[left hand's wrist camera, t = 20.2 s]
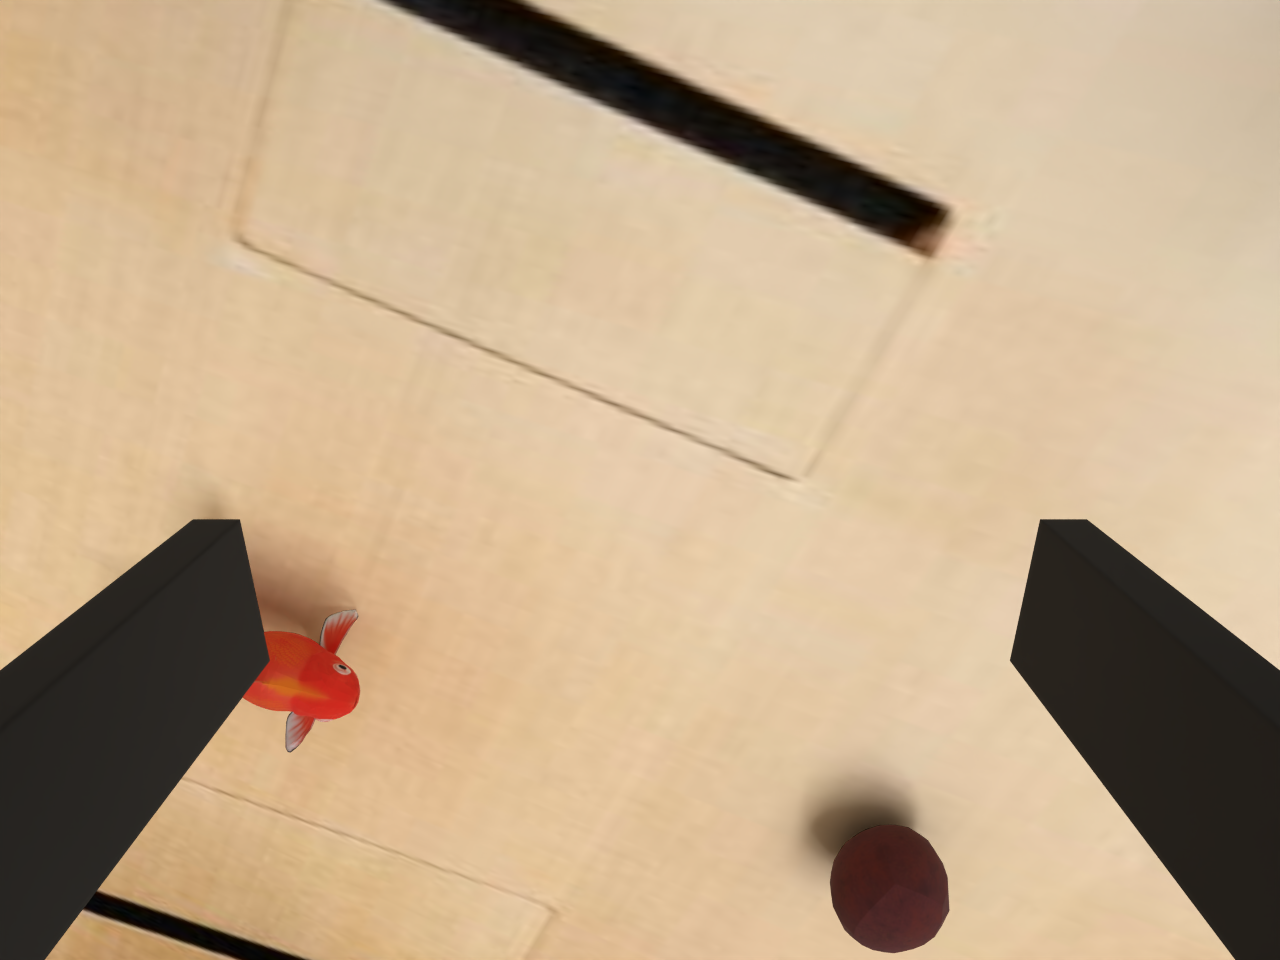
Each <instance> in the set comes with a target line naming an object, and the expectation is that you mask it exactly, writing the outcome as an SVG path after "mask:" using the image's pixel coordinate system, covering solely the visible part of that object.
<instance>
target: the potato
mask: <svg viewBox="0 0 1280 960" xmlns="http://www.w3.org/2000/svg"><path fill="white" fill-rule="evenodd" d="M830 887H831V896H832V903H833V907H834V909H835V912H836V914H837V916H838V918H839V920H840V922H841V924H842V926H843V928H844V929H845V931H846V932H847V933H848V934H849V935H850V936H851V937H853V938H854V939H855V940H856V941H858V942H859V943H860V944H861V945H863V946H865V947H868V948H870V949H872V950H876V951H881V952H888V953H897V952H903V951H907V950H911V949H914V948H917V947H919V946H922V945H924V944H926V943H927V942H928V941H930V940H931V939H932V938H934V937H935V935H936V934H937V932H938V931H939V929H940V928H941V926H942V924H943V922H944V920H945V918H946V916H947V914H948V912H949V896H948V878H947V874H946V871H945V868H944V866H943V863H942V861H941V860H940V858H939V857H938V855H937V853H936V852H935V850H934V849H933V847H932V846H931V844H930V843H929V841H928V840H927V839H925V838H924V837H923V836H921V835H920V834H918V833H917V832H915V831H913V830H912V829H910V828H909V827H903V826H898V825H878V826H875V827H872V828H869V829H866V830H864V831H862V832H860V833H859V834H857V835H856V836H854V837H853V838H851V839H850V840H848V841H847V842H846V843H845V844H844V845H843V847H842V848H841V850H840V851H839V853H838V855H837V857H836V858H835V860H834V863H833V867H832V871H831V879H830Z"/></svg>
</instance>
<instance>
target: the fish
mask: <svg viewBox="0 0 1280 960" xmlns="http://www.w3.org/2000/svg"><path fill="white" fill-rule="evenodd" d="M357 618H358V614H357V612H356V610H346V611H341V612H338V613H335V614H333V615H330V616H329V617H327V618H326V619H325V622H324V625H323V628H322V631H321V636H320V645H319V644H318V643H316V642H315V641H313V640H311V639H309V638H307V637H305V636H302V635H299V634H296V633H289V632H281V631H269V632H264V635H265V639H266V644H267V649H268V653H269V658H270V661H269V663H268V664H267V665H266V667H265V668H264V669H263V671H262V672H261V673H260V675H259V676H258V677H257V679H256V680H255V681H254V683H253V684H252V685H251V687H250V688H249V689H248V691H247V692H246V693H245V695H244V696H243V698H244V699H246V700H247V701H249V702H251V703H252V704H255V705H257V706H260V707H262V708H265V709H269V710H274V711H292V712H291V713H290V714H289V716H288V718H287V722H286V749H287V751H288V752H292V751H293V750H294V749H296V748H297V747H298V746H299V745H300V743H301V742H302V741H303V739H304V738H305V736H306V735H307V733H308V732H309V731H310V730H311V728H312V726H313V724H314V721H315V719H316V720H318V721H322V722H328V721H331V720H334V719H337V718H340V717H342V716H344V715H346V714H349V713H350V712H351V711H352V710H353V709H354V708H355V707H356V705H357V703H358V701H359V695H360V686H359V681H358V678H357V675H356V674H355V672H354V671H353V670H352V669H351V668H350V667H349V666H348V665H346V664H345V663H344V662H343V661H342V660H341V659H340V658H339V657H338V656H336V655H335V654H336V652H337V650H338V648H339V646H340V644H341V642H342V641H343V639H344V637H345V636H346V634H347V633H348V631H349V629H350V627H351V626H352V624H353V623H354V622H355V620H357Z"/></svg>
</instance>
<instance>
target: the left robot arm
mask: <svg viewBox="0 0 1280 960" xmlns="http://www.w3.org/2000/svg"><path fill="white" fill-rule="evenodd" d="M269 661H270V658H269V653H268V649H267V644H266V639H265V635H264V630H263V625H262V621H261V616H260V611H259V607H258V602H257V597H256V593H255V588H254V583H253V579H252V574H251V569H250V565H249V560H248V555H247V551H246V546H245V541H244V537H243V532H242V527H241V523H240V519H193V520H192V521H191V522H189V523H188V524H187V525H185V526H184V527H183V528H182V529H180V530H179V531H178V532H176V533H175V534H174V535H173V536H171V537H170V538H169V539H168V540H166V541H165V542H164V543H162V544H161V545H160V546H159V547H157V548H156V549H155V550H153V551H152V552H151V553H150V554H148V555H147V556H146V557H145V558H143V559H142V560H141V561H139V562H138V563H137V564H136V565H134V566H133V567H132V568H130V569H129V570H128V571H127V572H125V573H124V574H123V575H122V576H120V577H119V578H118V579H116V580H115V581H114V582H113V583H111V584H110V585H109V586H107V587H106V588H105V589H104V590H102V591H101V592H100V593H99V594H97V595H96V596H95V597H93V598H92V599H91V600H90V601H88V602H87V603H86V604H84V605H83V606H82V607H81V608H79V609H78V610H77V611H76V612H74V613H73V614H72V615H70V616H69V617H68V618H67V619H65V620H64V621H63V622H61V623H60V624H59V625H58V626H56V627H55V628H54V629H53V630H51V631H50V632H49V633H47V634H46V635H45V636H44V637H42V638H41V639H40V640H39V641H37V642H36V643H35V644H33V645H32V646H31V647H30V648H28V649H27V650H26V651H24V652H23V653H22V654H21V655H19V656H18V657H17V658H16V659H14V660H13V661H12V662H10V663H9V664H8V665H7V666H5V667H4V668H3V669H1V670H0V960H45V959H46V957H47V956H48V955H49V953H50V952H51V951H52V949H53V948H54V947H55V945H56V944H57V943H58V941H59V940H60V939H61V937H62V936H63V935H64V933H65V932H66V931H67V929H68V928H69V927H70V925H71V924H72V923H73V921H74V920H75V919H76V917H77V916H78V915H79V914H80V912H81V911H82V910H83V908H84V907H85V906H86V904H87V903H88V902H89V900H90V899H91V898H92V896H93V895H94V894H95V892H96V891H97V890H98V888H99V887H100V886H101V884H102V883H103V882H104V880H105V879H106V878H107V876H108V875H109V874H110V872H111V871H112V870H113V868H114V867H115V866H116V864H117V863H118V862H119V860H120V859H121V858H122V856H123V855H124V854H125V852H126V851H127V850H128V848H129V847H130V846H131V844H132V843H133V842H134V841H135V839H136V838H137V837H138V835H139V834H140V833H141V831H142V830H143V829H144V827H145V826H146V825H147V823H148V822H149V821H150V819H151V818H152V817H153V815H154V814H155V813H156V811H157V810H158V809H159V807H160V806H161V805H162V803H163V802H164V801H165V799H166V798H167V797H168V795H169V794H170V793H171V791H172V790H173V789H174V787H175V786H176V785H177V783H178V782H179V781H180V779H181V778H182V777H183V775H184V774H185V773H186V772H187V770H188V769H189V768H190V766H191V765H192V764H193V762H194V761H195V760H196V758H197V757H198V756H199V754H200V753H201V752H202V750H203V749H204V748H205V746H206V745H207V744H208V742H209V741H210V740H211V738H212V737H213V736H214V734H215V733H216V732H217V730H218V729H219V728H220V726H221V725H222V724H223V722H224V721H225V720H226V718H227V717H228V716H229V714H230V713H231V712H232V710H233V709H234V708H235V706H236V705H237V704H238V702H239V701H240V700H241V699H242V697H243V696H244V695H245V693H246V692H247V691H248V689H249V688H250V687H251V685H252V684H253V683H254V681H255V680H256V679H257V677H258V676H259V675H260V673H261V672H262V671H263V669H264V668H265V667H266V665H267V664H268V663H269ZM1010 661H1011V663H1012V664H1013V665H1014V667H1015V668H1016V669H1017V671H1018V672H1019V673H1020V675H1021V676H1022V677H1023V679H1024V680H1025V681H1026V683H1027V684H1028V685H1029V687H1030V688H1031V689H1032V691H1033V692H1034V693H1035V695H1036V696H1037V697H1038V699H1039V700H1040V701H1041V703H1042V704H1043V705H1044V706H1045V708H1046V709H1047V710H1048V712H1049V713H1050V714H1051V716H1052V717H1053V718H1054V720H1055V721H1056V722H1057V724H1058V725H1059V726H1060V728H1061V729H1062V730H1063V732H1064V733H1065V734H1066V736H1067V737H1068V738H1069V740H1070V741H1071V742H1072V744H1073V745H1074V746H1075V748H1076V749H1077V750H1078V752H1079V753H1080V754H1081V756H1082V757H1083V758H1084V760H1085V761H1086V762H1087V764H1088V765H1089V766H1090V768H1091V769H1092V770H1093V772H1094V773H1095V774H1096V775H1097V777H1098V778H1099V779H1100V781H1101V782H1102V783H1103V785H1104V786H1105V787H1106V789H1107V790H1108V791H1109V793H1110V794H1111V795H1112V797H1113V798H1114V799H1115V801H1116V802H1117V803H1118V805H1119V806H1120V807H1121V809H1122V810H1123V811H1124V813H1125V814H1126V815H1127V817H1128V818H1129V819H1130V821H1131V822H1132V823H1133V825H1134V826H1135V827H1136V829H1137V830H1138V831H1139V833H1140V834H1141V835H1142V837H1143V838H1144V839H1145V841H1146V842H1147V843H1148V844H1149V846H1150V847H1151V848H1152V850H1153V851H1154V852H1155V854H1156V855H1157V856H1158V858H1159V859H1160V860H1161V862H1162V863H1163V864H1164V866H1165V867H1166V868H1167V870H1168V871H1169V872H1170V874H1171V875H1172V876H1173V878H1174V879H1175V880H1176V882H1177V883H1178V884H1179V886H1180V887H1181V888H1182V890H1183V891H1184V892H1185V894H1186V895H1187V896H1188V898H1189V899H1190V900H1191V902H1192V903H1193V904H1194V906H1195V907H1196V908H1197V910H1198V911H1199V912H1200V914H1201V915H1202V916H1203V917H1204V919H1205V920H1206V921H1207V923H1208V924H1209V925H1210V927H1211V928H1212V929H1213V931H1214V932H1215V933H1216V935H1217V936H1218V937H1219V939H1220V940H1221V941H1222V943H1223V944H1224V945H1225V947H1226V948H1227V949H1228V951H1229V952H1230V953H1231V955H1232V956H1233V957H1234V959H1235V960H1280V670H1279V669H1277V668H1276V667H1275V666H1273V665H1272V664H1271V663H1270V662H1268V661H1267V660H1266V659H1264V658H1263V657H1262V656H1261V655H1259V654H1258V653H1257V652H1256V651H1254V650H1253V649H1252V648H1250V647H1249V646H1248V645H1247V644H1245V643H1244V642H1243V641H1241V640H1240V639H1239V638H1238V637H1236V636H1235V635H1234V634H1233V633H1231V632H1230V631H1229V630H1227V629H1226V628H1225V627H1224V626H1222V625H1221V624H1220V623H1219V622H1217V621H1216V620H1215V619H1213V618H1212V617H1211V616H1210V615H1208V614H1207V613H1206V612H1204V611H1203V610H1202V609H1201V608H1199V607H1198V606H1197V605H1196V604H1194V603H1193V602H1192V601H1190V600H1189V599H1188V598H1187V597H1185V596H1184V595H1183V594H1181V593H1180V592H1179V591H1178V590H1176V589H1175V588H1174V587H1173V586H1171V585H1170V584H1169V583H1167V582H1166V581H1165V580H1164V579H1162V578H1161V577H1160V576H1158V575H1157V574H1156V573H1155V572H1153V571H1152V570H1151V569H1150V568H1148V567H1147V566H1146V565H1144V564H1143V563H1142V562H1141V561H1139V560H1138V559H1137V558H1135V557H1134V556H1133V555H1132V554H1130V553H1129V552H1128V551H1127V550H1125V549H1124V548H1123V547H1121V546H1120V545H1119V544H1118V543H1116V542H1115V541H1114V540H1112V539H1111V538H1110V537H1109V536H1107V535H1106V534H1105V533H1104V532H1102V531H1101V530H1100V529H1098V528H1097V527H1096V526H1095V525H1093V524H1092V523H1091V522H1089V521H1088V520H1087V519H1040V523H1039V527H1038V532H1037V537H1036V541H1035V546H1034V551H1033V555H1032V560H1031V565H1030V569H1029V574H1028V579H1027V583H1026V588H1025V593H1024V597H1023V602H1022V607H1021V611H1020V616H1019V621H1018V625H1017V630H1016V635H1015V639H1014V644H1013V649H1012V653H1011V658H1010Z"/></svg>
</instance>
